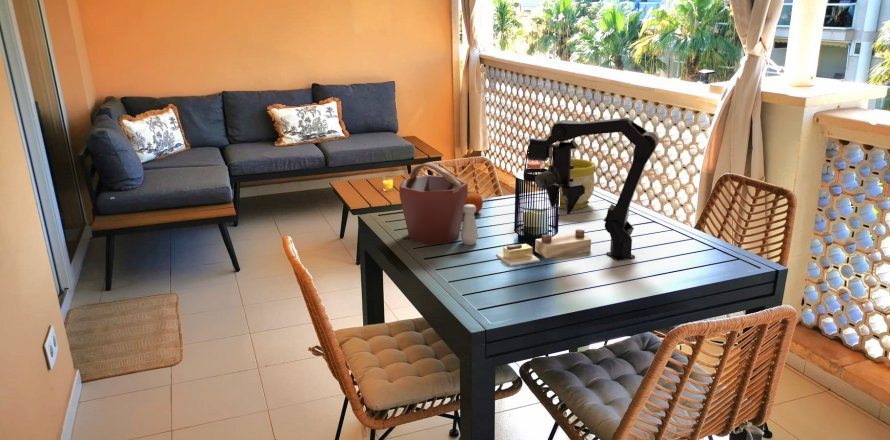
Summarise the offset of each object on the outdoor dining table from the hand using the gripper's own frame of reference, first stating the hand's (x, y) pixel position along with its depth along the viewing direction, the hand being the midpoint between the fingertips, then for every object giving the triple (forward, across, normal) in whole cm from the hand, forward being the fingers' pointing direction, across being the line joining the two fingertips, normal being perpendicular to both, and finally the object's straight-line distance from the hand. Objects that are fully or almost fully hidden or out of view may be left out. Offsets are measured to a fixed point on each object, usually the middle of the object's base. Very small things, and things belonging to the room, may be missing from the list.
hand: (560, 210), depth 219 cm
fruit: (+12, -48, -10) cm, 50 cm away
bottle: (+13, -34, +10) cm, 38 cm away
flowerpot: (+13, -41, +30) cm, 52 cm away
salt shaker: (+13, -17, -24) cm, 32 cm away
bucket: (+12, -28, -33) cm, 45 cm away
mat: (+13, +2, -16) cm, 21 cm away
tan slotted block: (+12, +2, -16) cm, 20 cm away
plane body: (+13, +2, 0) cm, 13 cm away
